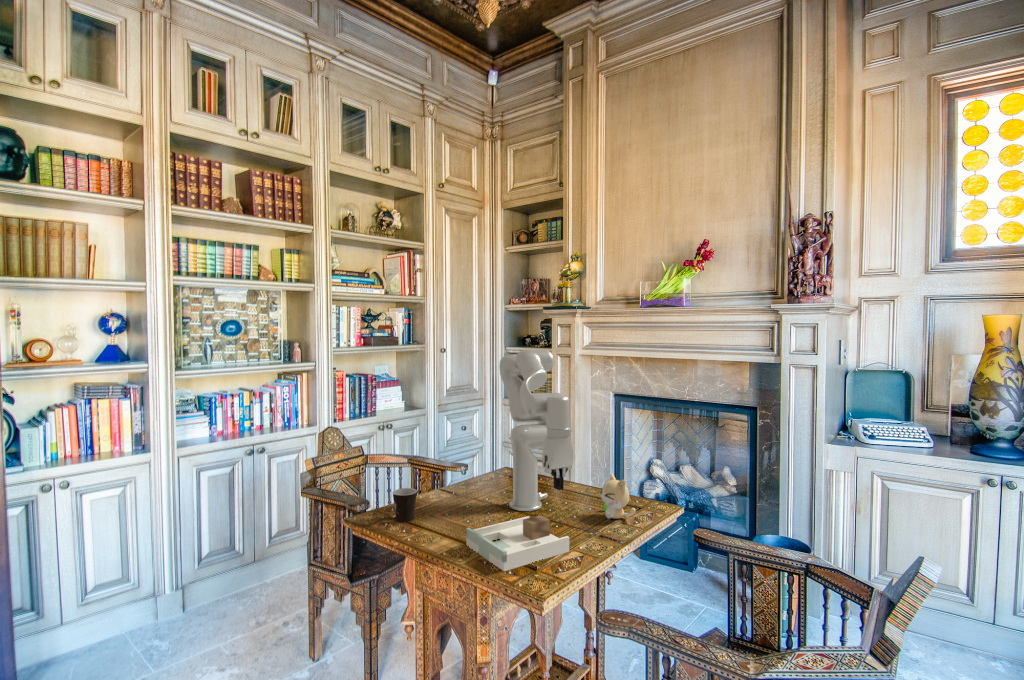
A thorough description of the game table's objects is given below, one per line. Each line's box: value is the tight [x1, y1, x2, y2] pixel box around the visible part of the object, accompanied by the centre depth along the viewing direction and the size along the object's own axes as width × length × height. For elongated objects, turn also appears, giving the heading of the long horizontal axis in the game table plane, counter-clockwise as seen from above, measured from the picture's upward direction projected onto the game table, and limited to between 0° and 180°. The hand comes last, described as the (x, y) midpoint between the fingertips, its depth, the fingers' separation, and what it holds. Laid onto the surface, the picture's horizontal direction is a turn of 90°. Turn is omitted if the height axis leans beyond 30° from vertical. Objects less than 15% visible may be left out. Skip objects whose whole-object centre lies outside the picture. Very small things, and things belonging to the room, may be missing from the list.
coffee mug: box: [392, 487, 418, 523], centre depth 189 cm, size 12×9×10 cm
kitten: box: [600, 472, 636, 520], centre depth 192 cm, size 15×10×15 cm
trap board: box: [465, 515, 570, 572], centre depth 164 cm, size 24×22×6 cm
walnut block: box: [523, 515, 551, 540], centre depth 168 cm, size 7×5×5 cm
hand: (558, 488), depth 173 cm, fingers closed
